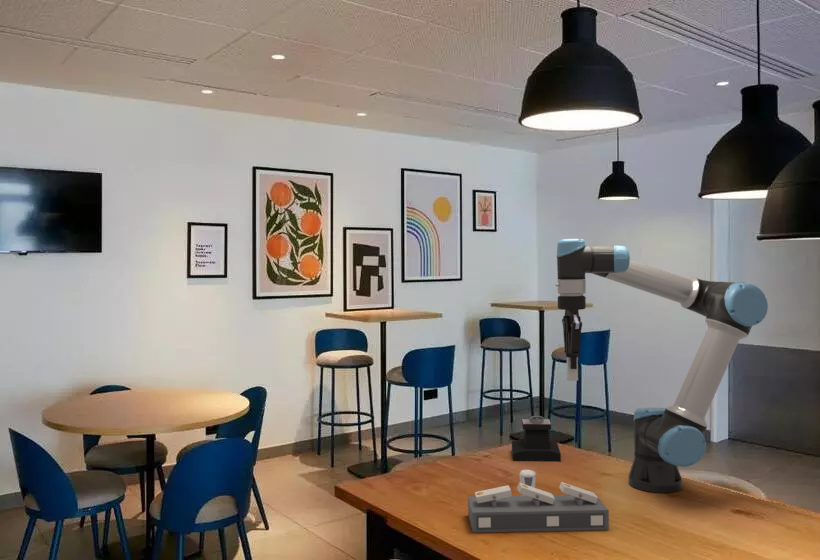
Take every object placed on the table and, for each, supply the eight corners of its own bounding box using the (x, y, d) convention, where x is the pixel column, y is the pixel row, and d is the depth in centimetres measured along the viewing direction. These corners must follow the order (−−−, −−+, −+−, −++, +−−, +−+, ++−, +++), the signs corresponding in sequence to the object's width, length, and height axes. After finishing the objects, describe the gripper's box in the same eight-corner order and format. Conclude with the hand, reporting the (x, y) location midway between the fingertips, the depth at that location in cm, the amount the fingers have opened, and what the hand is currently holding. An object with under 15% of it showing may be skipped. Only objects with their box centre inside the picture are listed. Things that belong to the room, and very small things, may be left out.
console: (595, 512, 183) (595, 489, 183) (609, 530, 171) (608, 505, 171) (468, 515, 183) (467, 491, 183) (472, 532, 171) (472, 507, 170)
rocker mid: (549, 498, 179) (551, 492, 179) (553, 505, 175) (555, 498, 175) (516, 487, 179) (519, 481, 179) (519, 493, 174) (522, 487, 174)
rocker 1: (509, 490, 179) (508, 484, 179) (512, 496, 174) (510, 490, 174) (475, 497, 179) (474, 491, 179) (477, 503, 174) (476, 497, 174)
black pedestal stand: (512, 423, 231) (510, 409, 246) (513, 464, 233) (511, 448, 248) (560, 423, 230) (555, 410, 245) (560, 464, 231) (555, 449, 246)
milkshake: (539, 506, 189) (538, 469, 189) (519, 505, 190) (518, 469, 190) (539, 500, 193) (538, 465, 193) (520, 499, 194) (519, 464, 194)
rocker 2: (591, 497, 179) (593, 491, 179) (596, 504, 175) (598, 497, 175) (558, 487, 179) (560, 481, 179) (562, 492, 175) (565, 486, 174)
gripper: (552, 294, 195) (553, 376, 196) (563, 296, 182) (564, 384, 183) (579, 293, 196) (580, 376, 196) (591, 295, 182) (592, 384, 183)
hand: (572, 380), depth 189 cm, fingers closed
